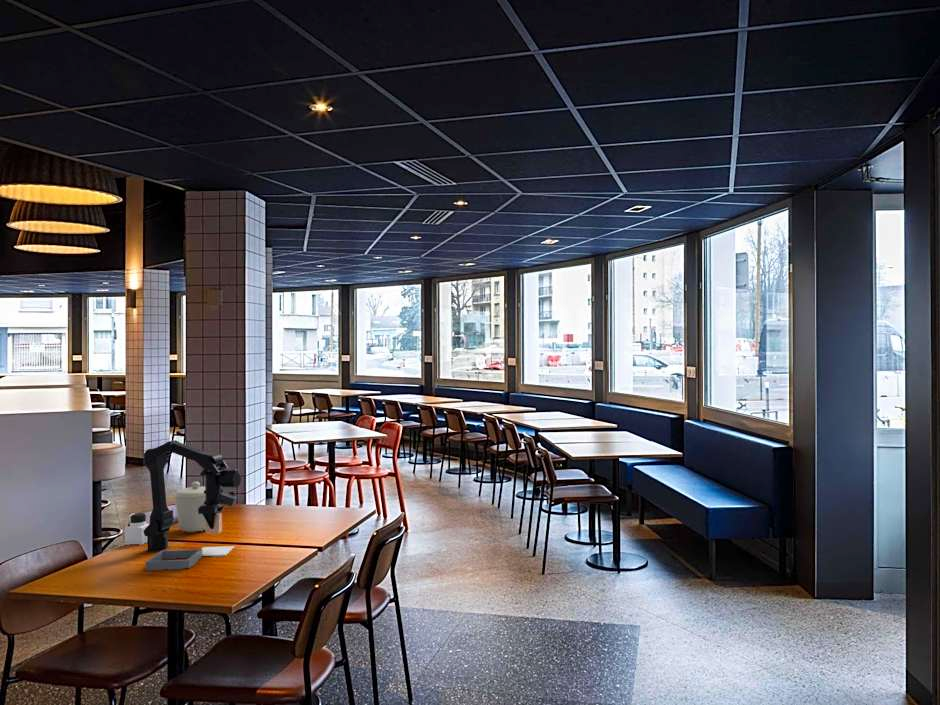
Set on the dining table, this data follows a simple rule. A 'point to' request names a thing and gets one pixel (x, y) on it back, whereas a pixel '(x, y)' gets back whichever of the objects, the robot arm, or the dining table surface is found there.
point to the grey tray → (161, 564)
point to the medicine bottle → (136, 529)
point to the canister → (190, 508)
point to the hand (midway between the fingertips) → (213, 527)
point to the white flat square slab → (216, 551)
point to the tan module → (215, 525)
